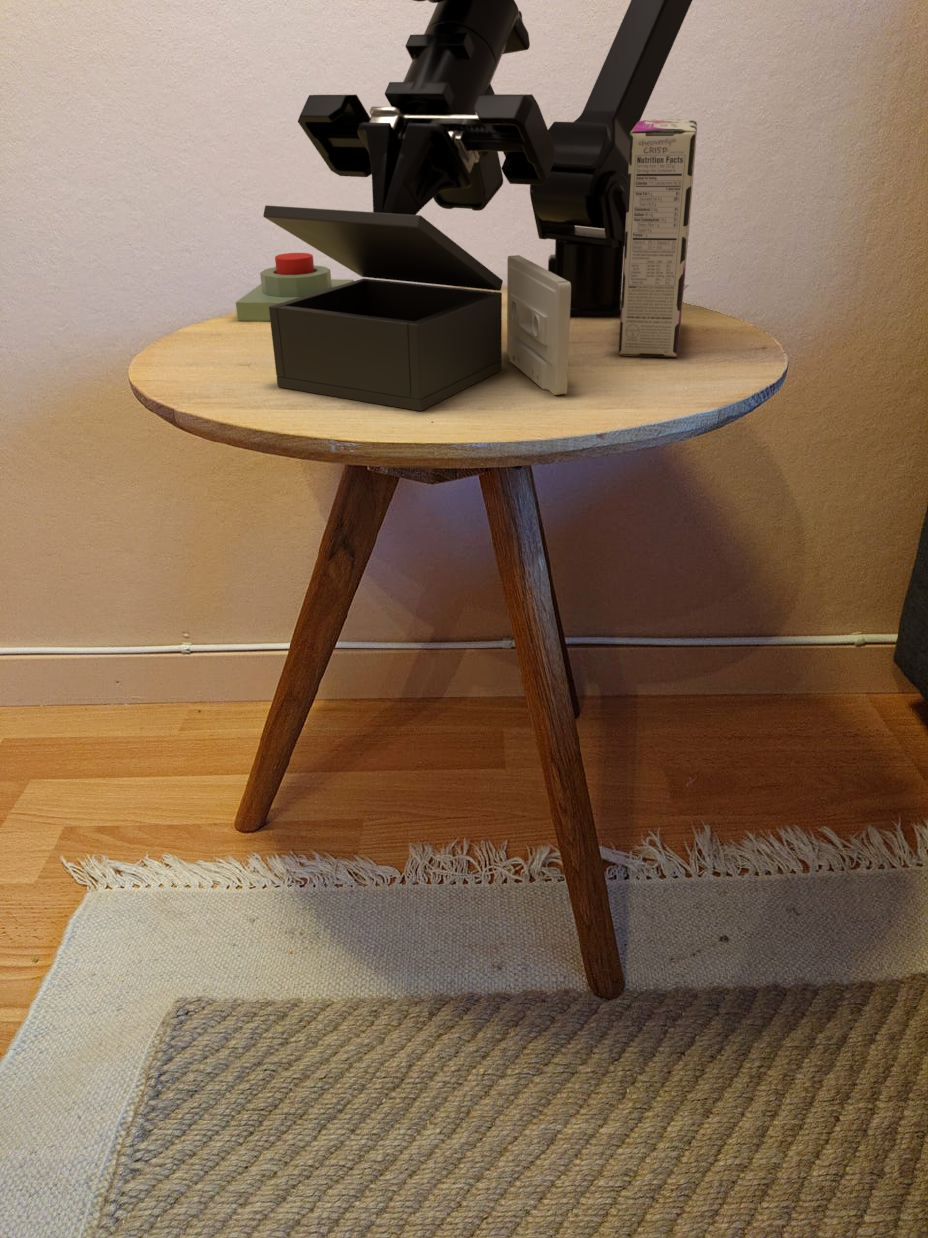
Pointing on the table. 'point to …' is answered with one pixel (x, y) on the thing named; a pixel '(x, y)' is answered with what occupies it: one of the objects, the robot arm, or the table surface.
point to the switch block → (282, 291)
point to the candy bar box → (656, 236)
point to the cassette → (538, 323)
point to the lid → (385, 246)
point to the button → (294, 263)
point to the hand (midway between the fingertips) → (381, 237)
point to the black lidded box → (387, 341)
